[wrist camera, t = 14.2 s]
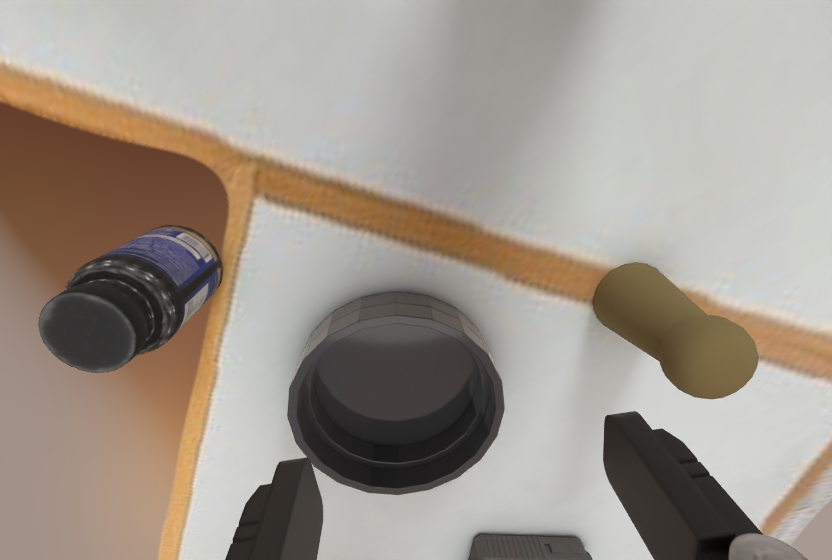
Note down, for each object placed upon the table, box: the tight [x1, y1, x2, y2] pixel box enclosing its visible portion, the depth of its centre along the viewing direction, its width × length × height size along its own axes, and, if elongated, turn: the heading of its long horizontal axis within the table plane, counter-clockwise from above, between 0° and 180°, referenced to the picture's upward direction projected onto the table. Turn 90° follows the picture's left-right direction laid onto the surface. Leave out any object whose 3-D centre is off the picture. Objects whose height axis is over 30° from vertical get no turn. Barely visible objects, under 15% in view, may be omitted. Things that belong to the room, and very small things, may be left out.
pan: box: [287, 292, 505, 495], centre depth 35 cm, size 16×16×5 cm
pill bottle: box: [39, 225, 222, 373], centre depth 27 cm, size 6×6×11 cm
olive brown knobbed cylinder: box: [593, 263, 759, 399], centre depth 30 cm, size 6×6×11 cm
